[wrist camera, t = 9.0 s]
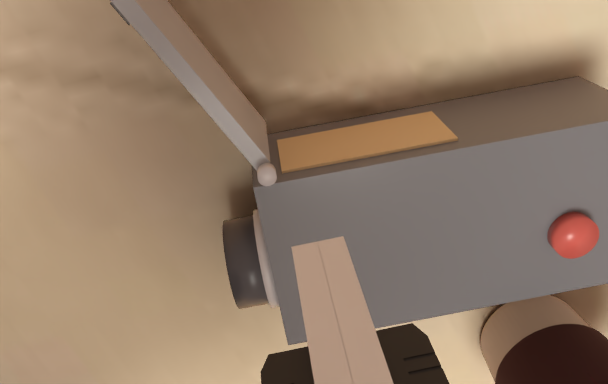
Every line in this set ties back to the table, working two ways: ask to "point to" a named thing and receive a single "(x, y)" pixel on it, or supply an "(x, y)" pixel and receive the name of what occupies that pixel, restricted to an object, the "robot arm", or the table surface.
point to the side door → (199, 74)
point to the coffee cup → (543, 344)
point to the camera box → (436, 204)
